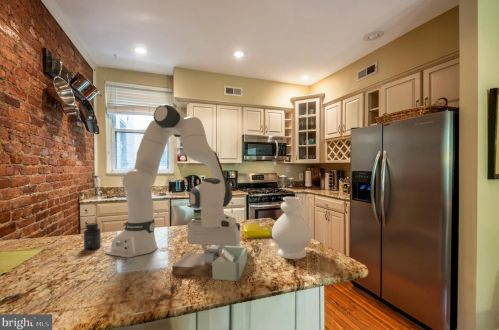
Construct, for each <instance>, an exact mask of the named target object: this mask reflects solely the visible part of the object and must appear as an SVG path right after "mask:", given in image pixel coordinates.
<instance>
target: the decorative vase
mask: <svg viewBox="0 0 499 330" xmlns="http://www.w3.org/2000/svg"><path fill="white" fill-rule="evenodd" d="M282 200H283V202H282V203H281V204H280V210H282V211H283V213H282V215H280V216H279V217H278V219H277V220H275V222H274V224H273V226H272V229H271V237H272V239H273V241H274V243H275V244H276V245H277V246H278V247H279V249H278V250H277V255H278V256H280V257H281V258H283V259H288V260H300V259H304V258H306V256H307V252H306V250H305V249H306V248H307V247H308V245H309V244H310V242H311V241H312V238H313V231H312V227H311V225H310V224H309V222H307V220H306V219H305V218H304V217H303V215H301V214H300V211H302V209H303V206H302V203H301V202H299V201H301V200H300V197H298V196H284V197H282Z"/></svg>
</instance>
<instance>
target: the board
mask: <svg viewBox="0 0 499 330" xmlns="http://www.w3.org/2000/svg"><path fill="white" fill-rule="evenodd" d="M171 270H172V271H171V272H172V275H180V276H195V277H206V278H207V277H208V278H213V273H212V266H208V265H204V252H202V253H201V252H200V253H199V252H186V254H184V255H183V256H182V257H181V258H180V259H179V260H177V261H176V262H175V263H174V264H173V265H172V269H171Z"/></svg>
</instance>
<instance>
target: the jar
mask: <svg viewBox="0 0 499 330" xmlns="http://www.w3.org/2000/svg"><path fill="white" fill-rule="evenodd" d="M235 225H236V226H237V228H238V232H239V243H238V244H237V245H236V247H241V224H240V223H239V222H236V223H235ZM222 252H224V248H223V250H222Z"/></svg>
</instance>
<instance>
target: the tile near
mask: <svg viewBox="0 0 499 330" xmlns="http://www.w3.org/2000/svg"><path fill="white" fill-rule="evenodd" d="M215 261H222V262H226V261H225V260H224V259H223V258H222V257H219V258H217V259H216V260H215ZM211 265H212V264H211Z"/></svg>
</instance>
